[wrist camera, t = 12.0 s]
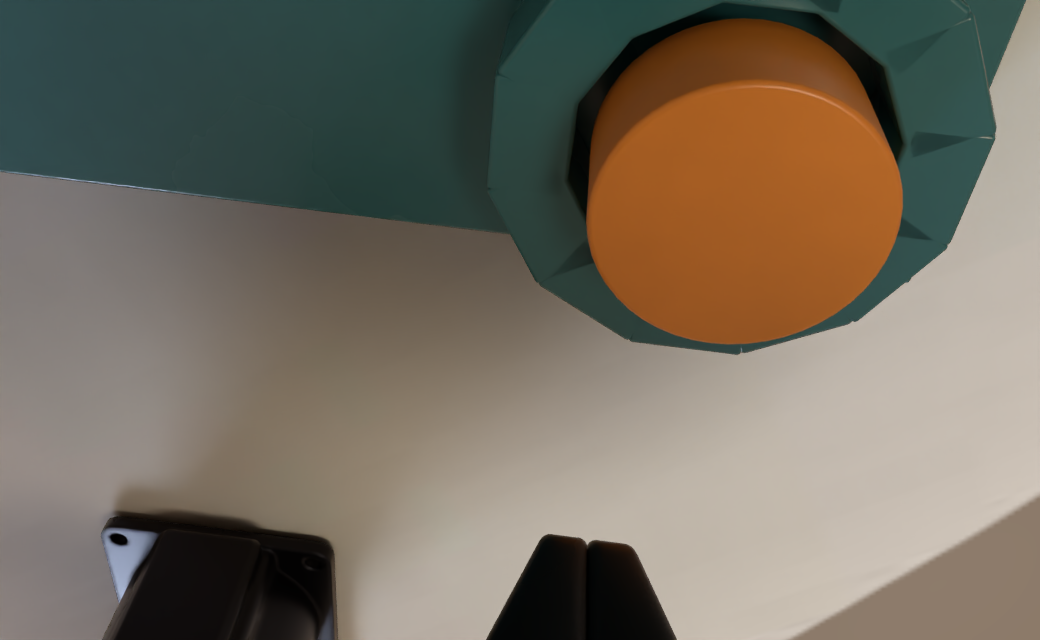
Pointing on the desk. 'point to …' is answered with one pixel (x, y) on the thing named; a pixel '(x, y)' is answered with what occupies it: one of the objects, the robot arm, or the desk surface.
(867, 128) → the orange button
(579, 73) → the teal button platform
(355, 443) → the desk surface
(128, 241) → the desk surface
